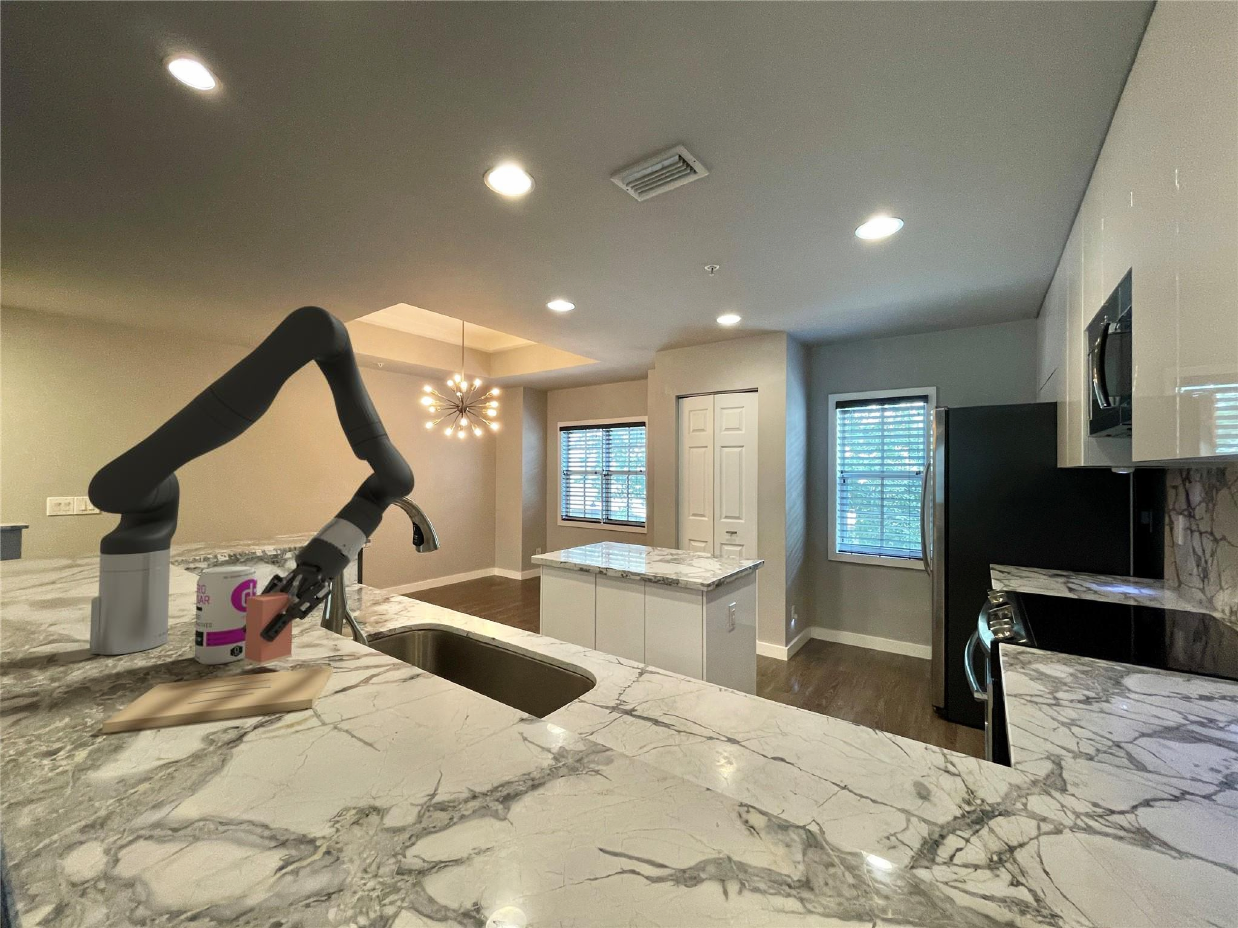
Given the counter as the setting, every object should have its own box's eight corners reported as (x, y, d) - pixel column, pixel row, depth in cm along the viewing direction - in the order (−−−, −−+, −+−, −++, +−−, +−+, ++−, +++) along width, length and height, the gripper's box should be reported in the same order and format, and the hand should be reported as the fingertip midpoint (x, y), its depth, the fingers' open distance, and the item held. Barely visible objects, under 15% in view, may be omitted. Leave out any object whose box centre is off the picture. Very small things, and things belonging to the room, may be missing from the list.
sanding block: (260, 666, 77) (262, 600, 77) (244, 660, 79) (246, 597, 79) (291, 656, 81) (293, 594, 81) (275, 652, 83) (277, 591, 83)
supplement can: (267, 649, 89) (269, 565, 90) (226, 667, 81) (229, 573, 82) (225, 648, 90) (227, 564, 91) (181, 664, 82) (183, 572, 82)
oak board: (102, 733, 60) (102, 722, 60) (158, 692, 71) (158, 683, 71) (312, 707, 67) (312, 698, 67) (332, 674, 78) (332, 666, 78)
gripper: (293, 533, 90) (212, 617, 79) (344, 538, 84) (264, 630, 73) (321, 559, 95) (248, 641, 84) (371, 565, 89) (300, 656, 77)
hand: (256, 635), depth 78 cm, fingers closed on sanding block, 4 cm apart
